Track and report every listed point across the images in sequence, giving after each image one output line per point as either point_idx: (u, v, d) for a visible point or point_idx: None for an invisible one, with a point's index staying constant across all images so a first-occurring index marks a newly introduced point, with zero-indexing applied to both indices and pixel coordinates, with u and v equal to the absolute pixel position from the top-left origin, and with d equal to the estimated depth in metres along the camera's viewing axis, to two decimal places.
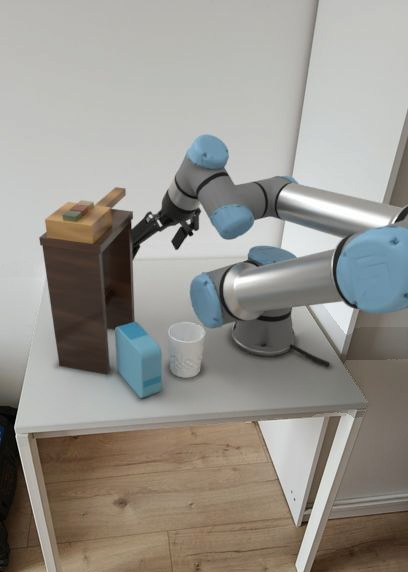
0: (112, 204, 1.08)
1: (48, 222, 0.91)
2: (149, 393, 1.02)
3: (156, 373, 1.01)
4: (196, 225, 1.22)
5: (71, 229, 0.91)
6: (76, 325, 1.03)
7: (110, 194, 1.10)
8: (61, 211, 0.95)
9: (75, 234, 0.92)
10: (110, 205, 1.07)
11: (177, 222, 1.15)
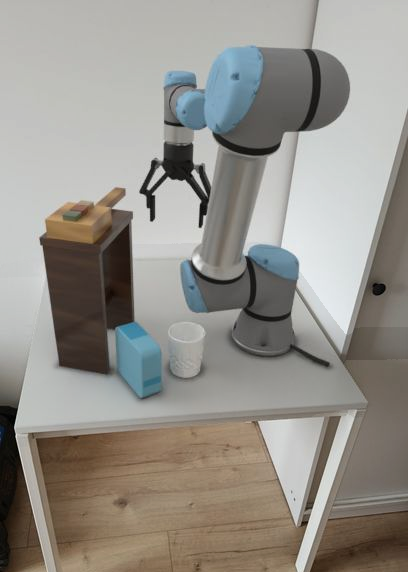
0: (112, 204, 1.08)
1: (48, 222, 0.91)
2: (149, 393, 1.02)
3: (156, 373, 1.01)
4: (207, 192, 1.30)
5: (71, 229, 0.91)
6: (76, 325, 1.03)
7: (110, 194, 1.10)
8: (61, 211, 0.95)
9: (75, 234, 0.92)
10: (110, 205, 1.07)
11: (181, 176, 1.29)
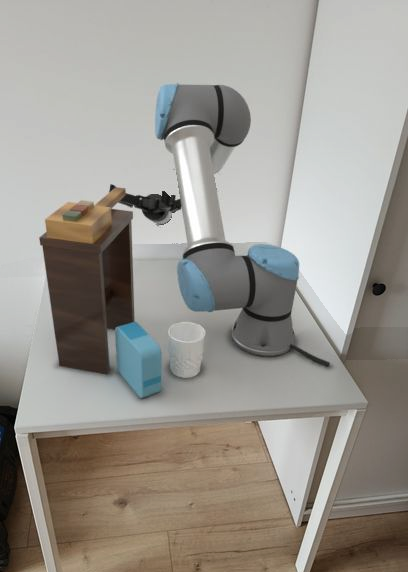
0: (112, 204, 1.08)
1: (48, 222, 0.91)
2: (149, 393, 1.02)
3: (156, 373, 1.01)
4: None
5: (71, 229, 0.91)
6: (76, 325, 1.03)
7: (110, 194, 1.10)
8: (61, 211, 0.95)
9: (75, 234, 0.92)
10: (110, 205, 1.07)
11: (155, 200, 1.39)
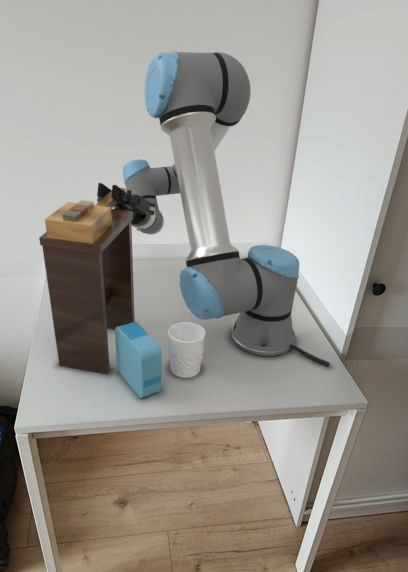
0: (112, 204, 1.08)
1: (48, 222, 0.91)
2: (149, 393, 1.02)
3: (156, 373, 1.01)
4: None
5: (71, 229, 0.91)
6: (76, 325, 1.03)
7: (110, 194, 1.10)
8: (61, 211, 0.95)
9: (75, 234, 0.92)
10: (110, 205, 1.07)
11: None
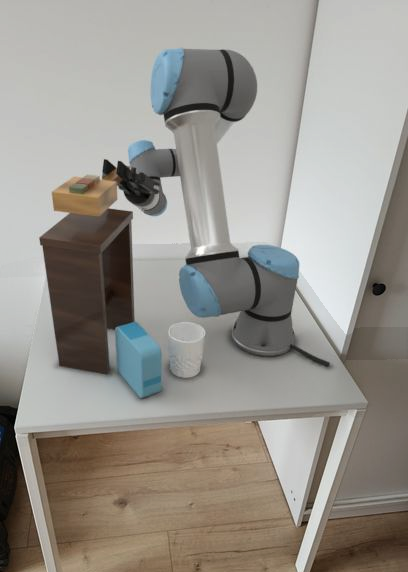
0: (117, 180, 1.08)
1: (55, 195, 0.92)
2: (149, 393, 1.02)
3: (156, 373, 1.01)
4: None
5: (78, 202, 0.92)
6: (76, 325, 1.03)
7: (115, 171, 1.11)
8: (67, 185, 0.95)
9: (81, 206, 0.92)
10: None
11: None
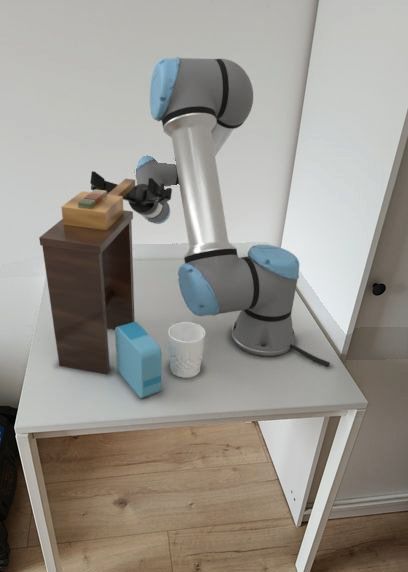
0: (123, 194, 1.13)
1: (64, 209, 0.97)
2: (149, 393, 1.02)
3: (156, 373, 1.01)
4: None
5: (86, 216, 0.97)
6: (76, 325, 1.03)
7: (121, 184, 1.16)
8: (76, 200, 1.00)
9: (89, 220, 0.97)
10: (121, 195, 1.12)
11: None
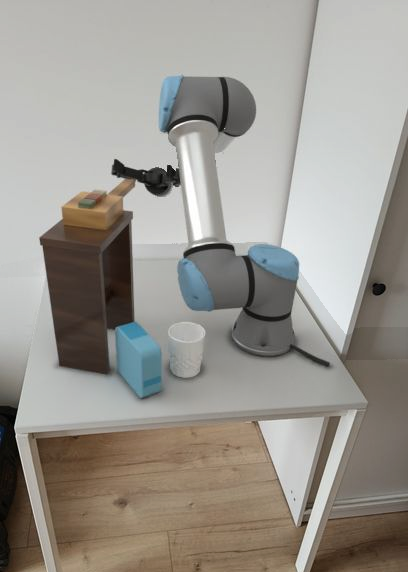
0: (123, 194, 1.13)
1: (64, 209, 0.97)
2: (149, 393, 1.02)
3: (156, 373, 1.01)
4: None
5: (86, 216, 0.97)
6: (76, 325, 1.03)
7: (121, 184, 1.16)
8: (76, 200, 1.00)
9: (89, 220, 0.97)
10: (121, 195, 1.12)
11: (158, 174, 1.37)
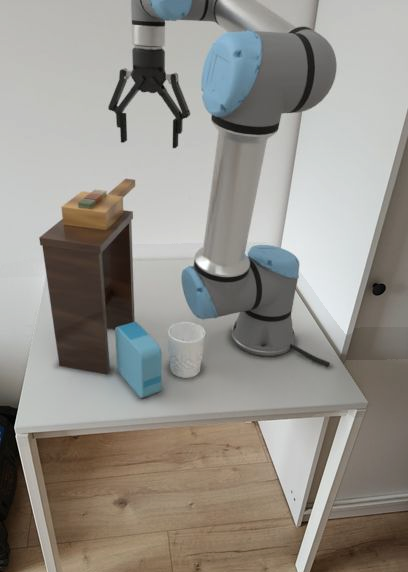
0: (123, 194, 1.13)
1: (64, 209, 0.97)
2: (149, 393, 1.02)
3: (156, 373, 1.01)
4: (181, 105, 1.20)
5: (86, 216, 0.97)
6: (76, 325, 1.03)
7: (121, 184, 1.16)
8: (76, 200, 1.00)
9: (89, 220, 0.97)
10: (121, 195, 1.12)
11: (152, 87, 1.19)
